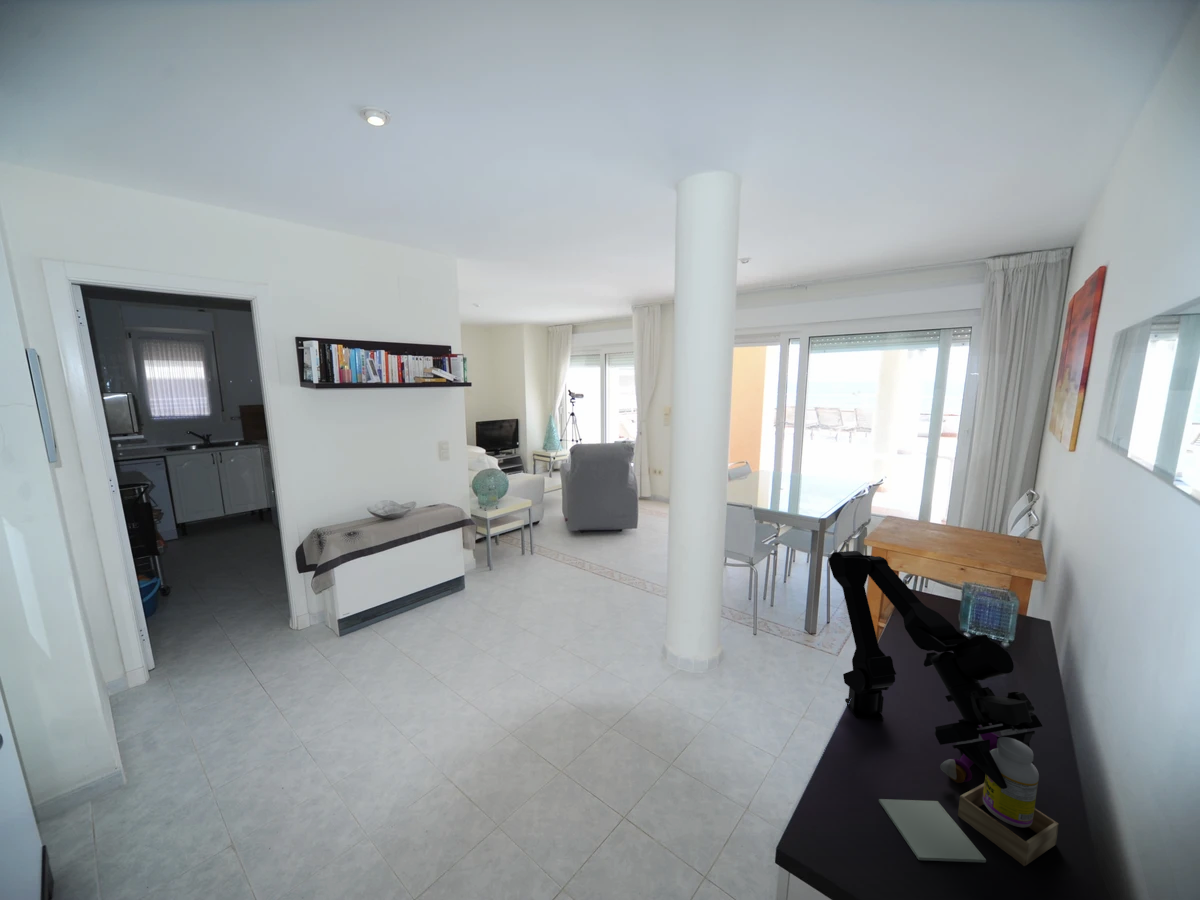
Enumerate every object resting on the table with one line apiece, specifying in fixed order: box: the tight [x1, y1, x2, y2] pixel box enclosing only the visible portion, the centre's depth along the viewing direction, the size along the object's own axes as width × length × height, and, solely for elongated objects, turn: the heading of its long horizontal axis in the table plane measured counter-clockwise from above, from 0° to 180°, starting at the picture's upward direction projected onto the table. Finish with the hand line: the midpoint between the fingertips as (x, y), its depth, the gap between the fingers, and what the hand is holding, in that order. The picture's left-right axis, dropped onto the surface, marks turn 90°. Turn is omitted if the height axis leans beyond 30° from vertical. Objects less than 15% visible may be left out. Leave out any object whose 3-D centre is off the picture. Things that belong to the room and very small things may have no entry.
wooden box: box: [957, 782, 1059, 867], centre depth 80 cm, size 10×10×4 cm
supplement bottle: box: [983, 737, 1040, 829], centre depth 79 cm, size 7×7×13 cm
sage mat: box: [878, 798, 987, 863], centre depth 80 cm, size 11×11×1 cm
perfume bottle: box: [939, 725, 1000, 784], centre depth 92 cm, size 8×8×18 cm
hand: (1019, 785), depth 78 cm, fingers closed on supplement bottle, 7 cm apart
